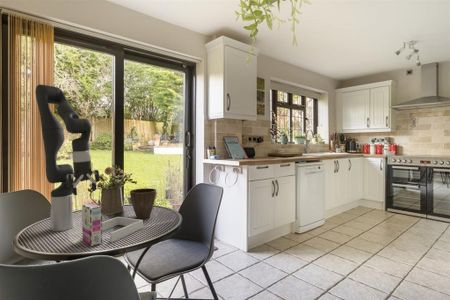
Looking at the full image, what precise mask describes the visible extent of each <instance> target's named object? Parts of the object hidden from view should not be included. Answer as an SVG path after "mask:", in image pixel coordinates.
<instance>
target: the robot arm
mask: <svg viewBox="0 0 450 300" xmlns="http://www.w3.org/2000/svg"><path fill="white" fill-rule="evenodd" d="M34 92H35V93H34V94H35V99H36V103H37V107H38V111H39V112H38V113H39V117H40V125H41V134H42V140H43V147H44V157H45V158H44V159H45V176H46V180H47V182H48V183H49V184H59V186H57V187H56V188H54V189H51V192H50V211H49V213H50V214H49V215H50V217H49V218H50V230H51V231H52V232H64V231H68V230H70V229H72V228H73V227H74V219H73V218H74V217H73V216H74V214H73V211H74V209H73V196H77V195H78V189H77V185H79V184H80V182H82V183H83V182H85V181H89V182H91V191H92V192H96V190H97V183H98V182H101V177H100V173H99V169H94V170H92V157H91V152H90V151H91V150H90V137H91V132H92V128H93V127H92V123H91V121H90V120H89V119H88V118H80V115H79V114H78V111H76V110H75V109H74V108H73V107H72V106H71V105H70V103H69V100H68V99H67V97H66V94H65V93H64V91H62V89H61V88H60V87H57V86H55V85H54V86H53V85H48V84H47V85H46V84H38V85H37V86H36V87H35V91H34ZM49 104H50V105H57V110H56V111H57V115H58V116H59V117H60V118H61V120H62V121H63V123H64V125H65V129H66V131H67V132H68V133H69V134H73V135H74V134H80V136H79V137H78V138H74V139H72V141H71V150H72V155H71V156H72V165H71V164H69V163H68V164H67V163H66V164H65V163H63V164H62V163H61V164H57V156H58V153H59V151H60V149H61V148H62V146H63V144H64V142H65V132H64V126H63V124H62V123H61V121H60V120H58V118H57V116H55V115H54V114H53V112H52V110H51V109H50V105H49ZM92 175H94V178H93V177H92Z"/></svg>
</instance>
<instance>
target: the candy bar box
mask: <svg viewBox="0 0 450 300" xmlns="http://www.w3.org/2000/svg"><path fill="white" fill-rule="evenodd" d="M81 205H82V206H81V211H82V212H81V217H82V218H81V221H82V224H81V225H82V226H81V227H82V241H83V242H84V243H85V244H87V245H88V246H89V247H96V246H100V245H102V244H103V231H102V222H103V207H102V206H101V205H98V204H96V203H94V202H91V203H86V204H85V203H84V204H81Z"/></svg>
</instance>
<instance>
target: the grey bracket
mask: <svg viewBox="0 0 450 300" xmlns="http://www.w3.org/2000/svg"><path fill="white" fill-rule="evenodd" d="M118 225H119V226H124V227H120V228H119V229H116V230H114V231H111V232H110V233H109V235H110V243H114V242H115V241H118V240H120V239H123V238H124V237H126V236H128V235H131V234H133V233H135V232H136V231H139V230H141V229H143V228H144V220H143V219H138V218H131V217H130V218H129V217H124V216H116V217H113V218H111V219H107V220H105V221H102V232H103V231H106V230H108V229H111V228H114V227H116V226H118Z"/></svg>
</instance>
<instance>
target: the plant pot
mask: <svg viewBox="0 0 450 300" xmlns="http://www.w3.org/2000/svg"><path fill="white" fill-rule="evenodd" d="M156 195H157V189H156V188H151V187H149V188H147V187H145V188H136V189H135V188H134V189H132V190H130V191H129V196H130V200H131V205H132V208H133V209H132V210H133V211H134V214H135V217H136V219H139V220H143V219H144V220H145V219H149V218H150V217H151V215H152V212H153V208H154V204H155V202H156Z"/></svg>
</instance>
